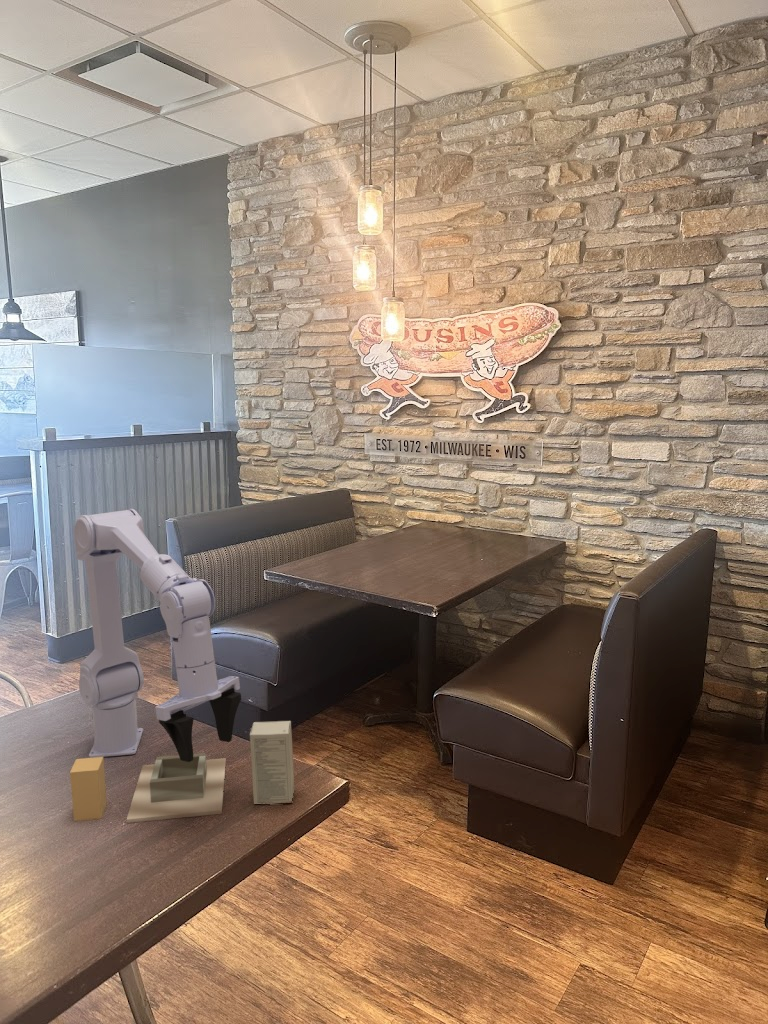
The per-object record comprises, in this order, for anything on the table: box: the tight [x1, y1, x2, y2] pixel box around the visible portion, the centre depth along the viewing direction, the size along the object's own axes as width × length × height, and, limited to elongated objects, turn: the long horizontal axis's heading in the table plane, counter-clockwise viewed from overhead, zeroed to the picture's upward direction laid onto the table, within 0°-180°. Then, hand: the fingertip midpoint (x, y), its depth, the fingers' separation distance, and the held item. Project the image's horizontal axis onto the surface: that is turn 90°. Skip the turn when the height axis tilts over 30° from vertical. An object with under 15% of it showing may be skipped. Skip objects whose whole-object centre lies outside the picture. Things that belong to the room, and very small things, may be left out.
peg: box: [69, 757, 108, 822], centre depth 111 cm, size 4×4×8 cm
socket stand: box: [126, 752, 227, 824], centre depth 118 cm, size 16×14×4 cm
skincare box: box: [249, 720, 295, 804], centre depth 115 cm, size 6×4×12 cm
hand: (206, 750), depth 110 cm, fingers open, 7 cm apart
